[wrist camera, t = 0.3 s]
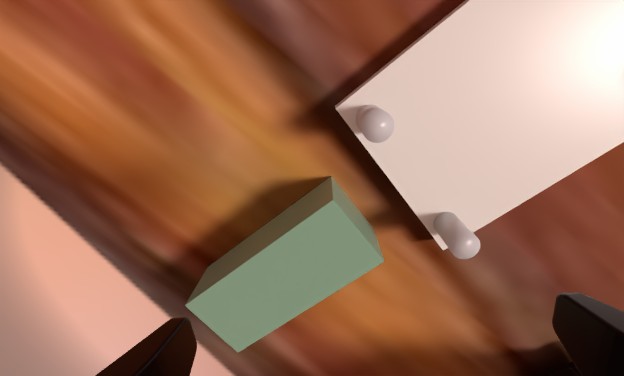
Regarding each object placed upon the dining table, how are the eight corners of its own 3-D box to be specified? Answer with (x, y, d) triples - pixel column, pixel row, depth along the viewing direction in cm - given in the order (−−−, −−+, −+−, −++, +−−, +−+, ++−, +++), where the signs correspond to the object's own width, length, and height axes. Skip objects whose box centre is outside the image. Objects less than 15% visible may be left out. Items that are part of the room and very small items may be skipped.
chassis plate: (706, 72, 18) (823, 71, 14) (435, 239, 22) (461, 277, 18) (629, -133, 15) (749, -215, 11) (334, 106, 19) (337, 115, 15)
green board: (372, 226, 22) (384, 261, 18) (251, 306, 25) (237, 352, 21) (331, 174, 21) (333, 199, 17) (208, 265, 24) (184, 305, 20)
